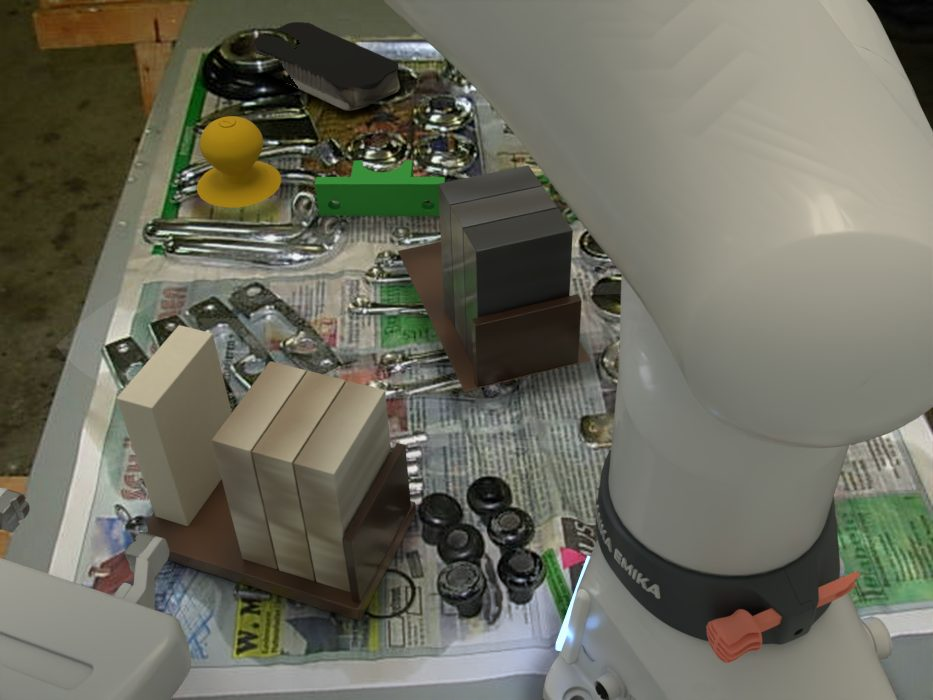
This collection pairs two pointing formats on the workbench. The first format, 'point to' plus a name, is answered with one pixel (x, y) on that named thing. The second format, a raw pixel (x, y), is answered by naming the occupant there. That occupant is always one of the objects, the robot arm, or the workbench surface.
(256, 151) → the doorknob
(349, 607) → the stand
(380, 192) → the pipe clamp
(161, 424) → the white book
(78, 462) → the workbench surface
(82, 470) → the workbench surface
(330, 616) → the workbench surface
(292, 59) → the black sponge
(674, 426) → the robot arm
